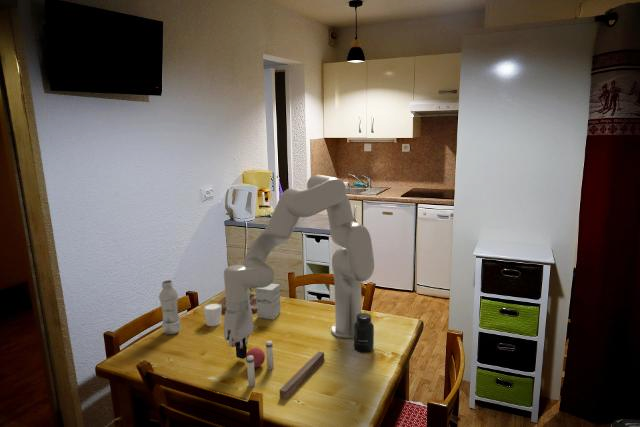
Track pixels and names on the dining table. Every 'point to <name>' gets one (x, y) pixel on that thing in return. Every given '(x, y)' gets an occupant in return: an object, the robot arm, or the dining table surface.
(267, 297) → the supplement box
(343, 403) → the dining table surface
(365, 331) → the supplement bottle
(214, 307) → the white cup
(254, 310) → the plant
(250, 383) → the side pin
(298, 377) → the back wall
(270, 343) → the pin
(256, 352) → the ball
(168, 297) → the plastic bottle
